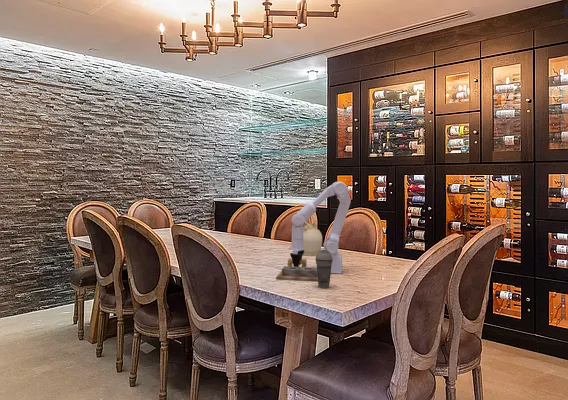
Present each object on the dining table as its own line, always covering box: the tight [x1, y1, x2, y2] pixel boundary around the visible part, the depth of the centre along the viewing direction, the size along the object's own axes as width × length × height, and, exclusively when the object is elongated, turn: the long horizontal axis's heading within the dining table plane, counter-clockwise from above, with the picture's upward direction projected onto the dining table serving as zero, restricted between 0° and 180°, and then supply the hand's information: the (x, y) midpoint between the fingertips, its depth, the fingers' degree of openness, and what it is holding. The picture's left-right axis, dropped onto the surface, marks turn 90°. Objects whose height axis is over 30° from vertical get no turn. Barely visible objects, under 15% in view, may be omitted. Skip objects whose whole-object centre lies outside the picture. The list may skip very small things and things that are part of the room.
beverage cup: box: [314, 238, 333, 289], centre depth 178 cm, size 7×7×20 cm
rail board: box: [275, 265, 318, 282], centre depth 196 cm, size 20×14×4 cm
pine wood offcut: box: [287, 257, 308, 267], centre depth 209 cm, size 9×3×6 cm, turn 81°
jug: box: [303, 213, 323, 256], centre depth 260 cm, size 15×16×25 cm
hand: (297, 266), depth 209 cm, fingers open, 7 cm apart
